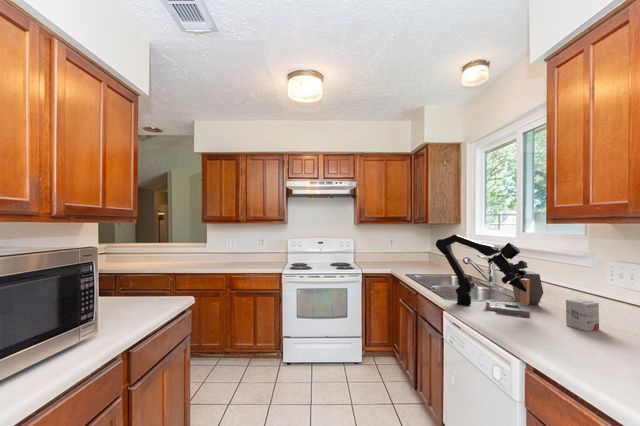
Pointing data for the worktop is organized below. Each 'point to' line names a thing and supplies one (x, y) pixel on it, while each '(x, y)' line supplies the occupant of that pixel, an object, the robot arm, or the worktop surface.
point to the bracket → (490, 306)
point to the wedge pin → (525, 295)
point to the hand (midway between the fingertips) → (527, 290)
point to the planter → (531, 288)
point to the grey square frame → (512, 309)
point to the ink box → (582, 314)
